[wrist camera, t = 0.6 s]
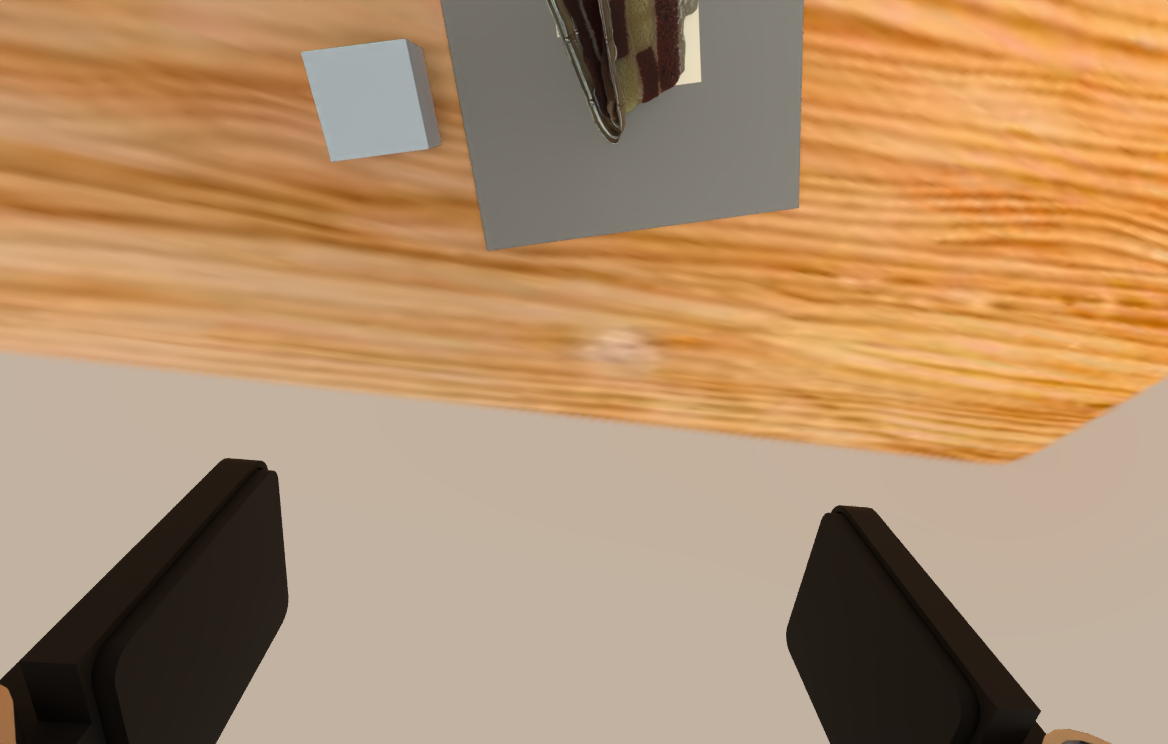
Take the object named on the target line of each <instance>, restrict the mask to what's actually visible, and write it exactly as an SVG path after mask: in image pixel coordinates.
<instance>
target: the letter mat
mask: <svg viewBox="0 0 1168 744" xmlns="http://www.w3.org/2000/svg"><path fill="white" fill-rule="evenodd" d="M441 4H442V10H443V15H444V20H445V26H446V31H447V36H448V42H449V47H450V52H451V58H452V63H453V69H454V74H455V79H456V85H457V90H458V95H459V101H460V106H461V111H462V117H463V122H464V127H465V133H466V138H467V143H468V149H469V154H470V159H471V165H472V170H473V176H474V181H475V186H476V192H477V197H478V202H479V208H480V213H481V218H482V224H483V229H484V234H485V240H486V245H487V250H488V251H490V250H497V249H504V248H511V247H519V246H526V245H533V244H540V243H548V242H555V241H562V240H569V239H577V238H584V237H591V236H598V235H606V234H613V233H620V232H627V231H635V230H642V229H649V228H656V227H664V226H671V225H678V224H685V223H693V222H700V221H707V220H714V219H722V218H729V217H736V216H743V215H751V214H758V213H765V212H772V211H780V210H787V209H794V208H799V173H800V131H801V89H802V47H803V5H804V0H698V7H697V10H696V11H695V12H694V13H692V14H690V15H688V16H686V17H685V19H684V29H683V31H684V36H685V39H686V51H685V70H684V72H683V73H682V74H681V76H680V78H679V80H678V82H677V83H676V85H675V86H674V87H672V88H670V89H668V90H666V91H664V92H662V93H661V94H660V95H659V96H658V97H655V98H653V99H652V100H651V101H649V102H646V103H639V104H638V105H637V106H636V107H635V109H634V110H633V111H631V112H629V113H627V114H625V122H626V126H625V127H624V131H623V132H622V133H621V137H620V139H619V142H618V145H617V144H612V142H609V141H607V140H606V138H605V137H604V136H603V135H602V133H601V131H600V130H598V129H599V128H598V125H596V124H597V123H594V120H593V119H592V117H591V116H592V115H591V111H590V110H589V107H588V105H587V101H586V98H585V95H584V92H583V90H582V88H581V86H580V84H579V78H577V74H576V73H575V68H574V66H573V65H572V62H571V60H570V59H569V58H568V55H567V54H566V52H565V51H566V48H565V47H564V45H563V41H562V40H561V38H560V36H559V34H558V33H559V32H558V30H557V25H556V23H555V22H554V19H553V16H552V14H551V11H550V9H549V7H548V5H547V3H546V0H441Z"/></svg>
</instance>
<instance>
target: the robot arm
mask: <svg viewBox="0 0 1168 744" xmlns="http://www.w3.org/2000/svg"><path fill="white" fill-rule="evenodd" d="M287 607H288V587H287V575H286V565H285V552H284V540H283V529H282V517H281V506H280V494H279V482H278V476H277V473H276V472H275V471H271V470H268V468H267V465H266V464H265V463H264V462H263V461H256V460H244V459H231V458H226V459H223V460H222V461H220V462H219V463H218V464H217V465H216V466H215V467H214V468H213V469H212V470H211V471H210V472H209V473H208V474H207V475H206V476H205V477H204V478H203V479H202V480H201V481H200V482H199V483H198V484H197V485H196V486H195V487H194V488H193V489H192V490H191V491H190V492H189V493H188V494H187V495H186V496H185V497H184V498H183V499H182V500H181V501H180V502H179V503H178V504H177V505H176V506H175V507H174V508H173V509H172V510H171V511H170V512H169V513H168V514H167V515H166V516H165V517H164V518H163V519H162V520H161V521H160V522H159V523H158V524H157V525H156V526H155V527H154V528H153V529H152V530H151V531H150V532H149V533H148V534H147V535H146V536H145V537H144V538H143V539H142V540H141V541H140V542H139V543H138V544H137V545H135V546H134V547H133V548H132V549H131V550H130V551H129V552H128V554H126V555H125V556H124V557H123V558H122V559H121V560H120V561H119V562H118V563H117V564H116V565H115V566H114V567H113V568H112V569H111V570H110V571H109V572H108V573H107V574H106V575H105V576H104V577H103V578H102V579H101V580H100V581H99V582H98V583H97V584H96V585H95V586H94V587H93V588H92V589H91V590H90V591H89V592H88V593H87V594H86V595H85V596H84V597H83V598H82V599H81V600H80V601H79V602H78V603H77V604H76V605H75V606H74V607H73V608H72V609H71V610H70V611H69V612H68V613H67V614H66V615H65V616H64V617H63V618H62V619H61V620H60V621H59V622H58V623H57V624H56V625H55V626H54V627H53V628H52V629H51V630H50V631H49V632H48V633H47V634H46V635H45V636H44V637H43V638H42V639H41V640H40V641H39V642H38V643H37V644H36V645H35V646H34V647H33V648H32V649H31V650H30V651H29V652H28V653H27V654H26V655H25V656H24V657H23V658H22V659H21V660H20V661H19V662H18V663H17V664H16V665H15V666H14V667H13V668H12V669H11V670H10V671H9V672H8V673H7V674H6V675H5V676H4V677H3V678H2V679H1V680H0V744H216V742H217V740H218V739H219V737H220V735H221V733H222V731H223V729H224V728H225V726H226V724H227V722H228V720H229V719H230V716H231V715H232V713H233V711H234V710H235V708H236V706H237V704H238V702H239V701H240V699H241V697H242V695H243V693H244V691H245V690H246V688H247V686H248V684H249V682H250V681H251V679H252V677H253V675H254V673H255V672H256V670H257V668H258V666H259V664H260V663H261V661H262V659H263V657H264V655H265V653H266V652H267V650H268V648H269V646H270V644H271V643H272V641H273V639H274V637H275V635H276V634H277V632H278V630H279V628H280V626H281V624H282V623H283V620H284V618H285V615H286V612H287ZM786 639H787V646H788V649H789V652H790V654H791V656H792V659H793V661H794V663H795V665H796V667H797V670H798V672H799V674H800V677H801V679H802V681H803V683H804V685H805V688H806V690H807V692H808V695H809V697H810V699H811V701H812V703H813V706H814V708H815V710H816V713H817V715H818V717H819V719H820V722H821V724H822V726H823V728H824V731H825V733H826V735H827V737H828V739H829V742H830V744H1111V743H1109V742H1106V741H1104V740H1102V739H1100V738H1097V737H1095V736H1093V735H1090V734H1088V733H1084V732H1080V731H1075V730H1071V729H1060V730H1053V731H1052V732H1050V733H1049V734H1047V735H1046V733H1045V732H1044V731H1043V730H1042V728H1041V727H1040V726H1039V725H1038V723H1037V722H1036V719H1037V717H1038V715H1039V714H1040V712H1041V710H1040V709H1039V708H1038V707H1037V706H1036V704H1035V703H1034V702H1033V701H1032V700H1031V698H1030V697H1029V696H1028V695H1027V694H1026V693H1025V691H1024V690H1023V689H1022V688H1021V687H1020V685H1019V684H1018V683H1017V682H1016V680H1015V679H1014V678H1013V677H1012V675H1011V674H1010V673H1009V672H1008V671H1007V669H1006V668H1005V667H1004V666H1003V665H1002V663H1001V662H1000V661H999V660H998V659H997V657H996V656H995V655H994V654H993V653H992V651H991V650H990V649H989V648H988V647H987V645H986V644H985V643H984V642H983V640H982V639H981V638H980V637H979V636H978V634H977V633H976V632H975V631H974V630H973V628H972V627H971V626H970V625H969V624H968V622H967V621H966V620H965V619H964V618H963V616H962V615H961V614H960V613H959V612H958V610H957V609H956V608H955V607H954V606H953V604H952V603H951V602H950V601H949V599H948V598H947V597H946V596H945V595H944V593H943V592H942V591H941V590H940V589H939V587H938V586H937V585H936V584H935V583H934V581H933V580H932V579H931V578H930V577H929V575H928V574H927V573H926V572H925V571H924V570H923V568H922V567H921V566H920V565H919V563H918V562H917V561H916V560H915V558H914V557H913V556H912V555H911V554H910V552H909V551H908V550H907V549H906V548H905V547H904V545H903V544H902V543H901V542H900V540H899V539H898V538H897V537H896V536H895V534H894V533H893V532H892V531H891V530H890V528H889V527H888V526H887V525H886V523H885V522H884V521H883V520H882V519H881V517H880V516H879V515H878V514H877V513H876V512H875V511H874V510H873V509H871V508H866V507H854V506H841V505H839V506H836V507H835V508H834V509H833V510H832V512H831V513H826V514H825V515H824V516H823V518H822V520H821V523H820V526H819V529H818V532H817V535H816V538H815V542H814V545H813V548H812V551H811V554H810V557H809V560H808V563H807V567H806V570H805V573H804V576H803V579H802V582H801V585H800V589H799V592H798V595H797V598H796V601H795V604H794V607H793V610H792V613H791V617H790V620H789V623H788V626H787V632H786Z"/></svg>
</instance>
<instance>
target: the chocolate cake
mask: <svg viewBox="0 0 1168 744" xmlns="http://www.w3.org/2000/svg"><path fill="white" fill-rule="evenodd" d="M546 3H547V5H548V7H549V9H550V11H551V14H552V16H553V19H554V22H555V23H556V25H557V30H558V32H559V33H558V34H559V36H560V38H561V40H562V41H563V45H564V47H565V48H566V51H565V52H566V54H567V55H568V58H569V59H570V60H571V62H572V65H573V66H574V68H575V73H576V74H577V78H579V84H580V86H581V88H582V90H583V92H584V95H585V98H586V101H587V105H588V107H589V110H590V111H591V115H592V116H591V117H592V119H593V120H594V123H597V124H596V125H598V128H599V129H598V130H600V131H601V133H602V135H603V136H604V137H605V138H606V140H607V141H609V142H612V144H617V145H618V142H619V139H620V137H621V133H622V132H623V131H624V127H625V126H626V122H625V114H627V113H629V112H631V111H633V110H634V109H635V107H636V106H637V105H638V104H639V103H646V102H649V101H651V100H652V99H653V98H655V97H658V96H659V95H660V94H661V93H662V92H664V91H666V90H668V89H670V88H672V87H674V86H675V85H676V83H677V82H678V80H679V78H680V76H681V74H682V73H683V72H684V70H685V51H686V39H685V36H684V31H683V29H684V19H685V17H686V16H688V15H690V14H692V13H694V12H695V11H696V10H697V7H698V0H546Z"/></svg>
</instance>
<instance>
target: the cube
mask: <svg viewBox="0 0 1168 744" xmlns="http://www.w3.org/2000/svg"><path fill="white" fill-rule="evenodd" d="M301 54H302V58H303V62H304V65H305V69H306V72H307V76H308V80H309V83H310V87H311V90H312V94H313V98H314V101H315V105H316V108H317V112H318V116H319V119H320V123H321V127H322V130H323V134H324V137H325V141H326V145H327V148H328V152H329V155H330V159H331V162H334V161H342V160H349V159H357V158H364V157H372V156H379V155H387V154H394V153H402V152H410V151H417V150H425V149H430V148H433V147H436V146H439V145H442V142H441V137H440V132H439V127H438V122H437V118H436V113H435V108H434V103H433V98H432V93H431V88H430V83H429V78H428V73H427V68H426V63H425V59H424V54H423V49H422V48H420V47H419V46H417V45H415V44H414V43H412V42H410V41H409V40H407V39H398V40H390V41H382V42H374V43H367V44H359V45H351V46H343V47H335V48H328V49H320V50H312V51H304V52H301Z"/></svg>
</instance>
